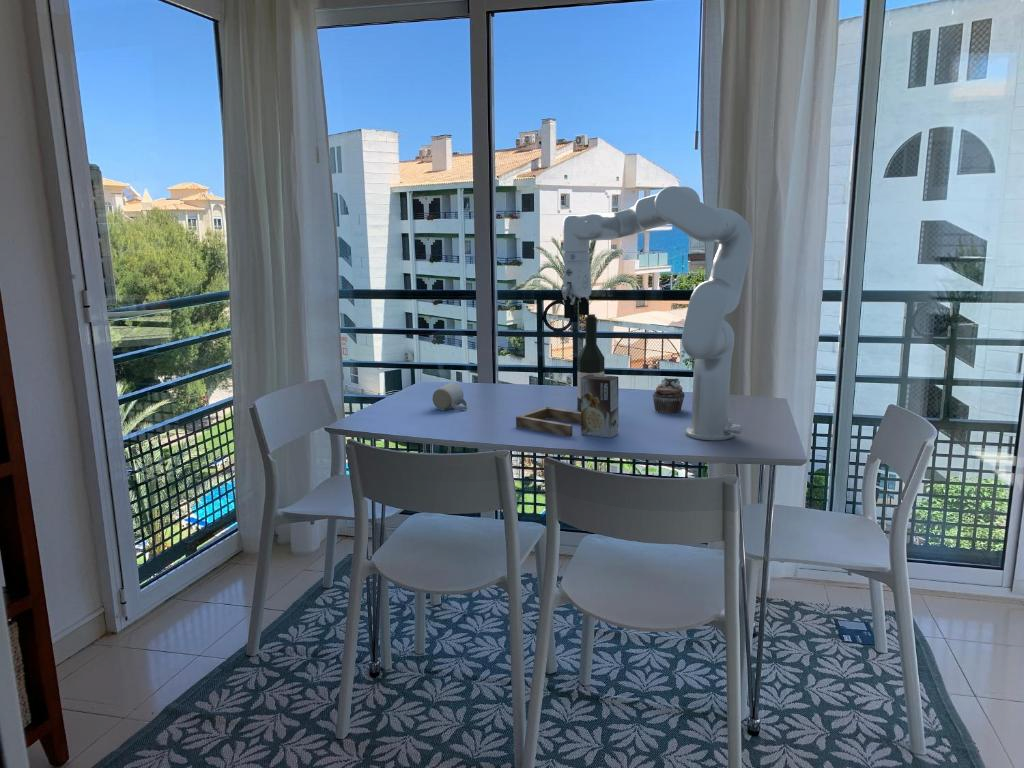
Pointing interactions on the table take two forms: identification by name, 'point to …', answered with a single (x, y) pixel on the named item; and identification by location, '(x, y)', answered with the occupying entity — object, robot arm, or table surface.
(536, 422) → the u rest
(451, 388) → the ceramic mug
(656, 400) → the cupcake
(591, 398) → the coffee box
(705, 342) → the robot arm
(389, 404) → the table surface
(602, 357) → the wine bottle
